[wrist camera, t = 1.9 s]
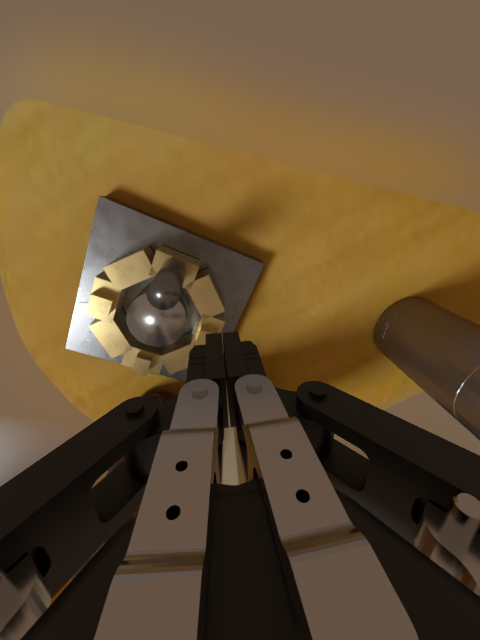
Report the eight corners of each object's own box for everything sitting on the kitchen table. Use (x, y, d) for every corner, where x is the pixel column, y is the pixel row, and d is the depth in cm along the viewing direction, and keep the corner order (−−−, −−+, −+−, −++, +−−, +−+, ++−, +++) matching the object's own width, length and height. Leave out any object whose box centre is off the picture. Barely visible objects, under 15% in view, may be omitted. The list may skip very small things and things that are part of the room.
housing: (261, 260, 34) (271, 273, 28) (208, 379, 40) (208, 408, 34) (105, 195, 29) (82, 195, 24) (72, 340, 35) (47, 366, 30)
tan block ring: (239, 275, 32) (252, 309, 22) (198, 371, 36) (194, 434, 27) (115, 227, 28) (68, 243, 19) (87, 339, 33) (38, 398, 23)
